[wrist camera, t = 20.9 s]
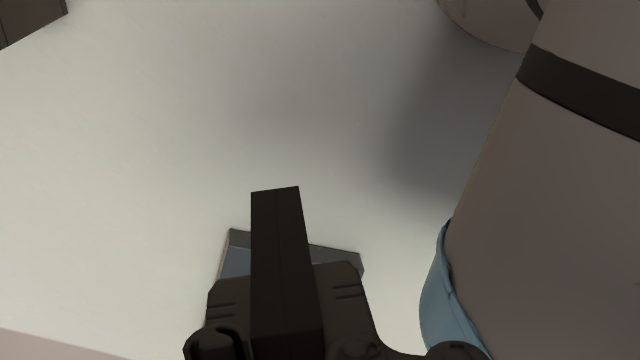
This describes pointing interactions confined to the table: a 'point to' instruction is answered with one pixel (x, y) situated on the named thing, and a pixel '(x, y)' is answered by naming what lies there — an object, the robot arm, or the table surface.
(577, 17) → the robot arm
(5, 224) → the table surface
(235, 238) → the control box
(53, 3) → the cabinet
